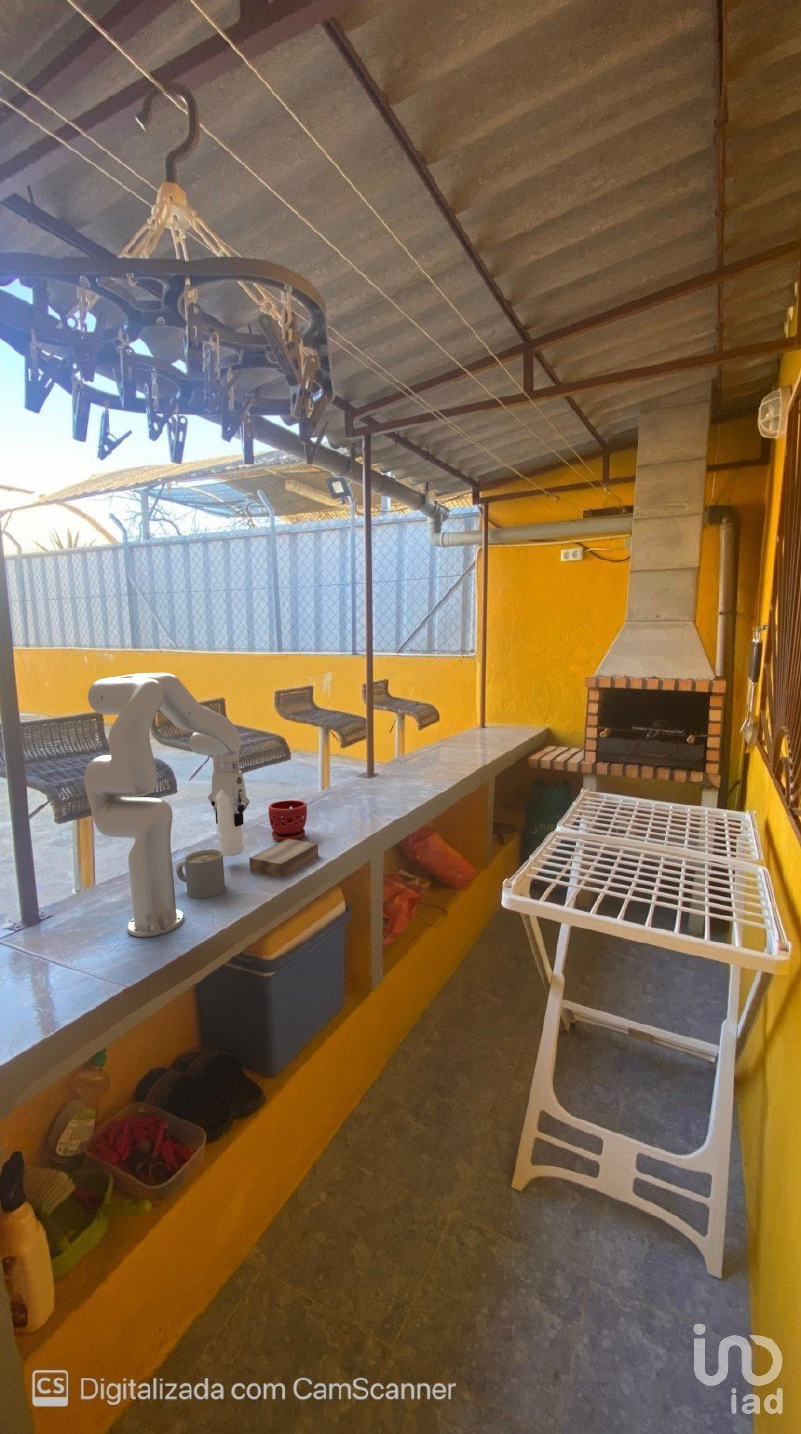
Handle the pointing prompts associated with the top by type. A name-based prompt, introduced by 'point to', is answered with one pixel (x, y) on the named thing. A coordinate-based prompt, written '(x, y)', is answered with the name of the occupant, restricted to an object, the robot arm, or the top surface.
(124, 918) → the top surface
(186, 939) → the top surface
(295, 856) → the walnut stand
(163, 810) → the robot arm
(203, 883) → the coffee mug
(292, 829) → the plant pot
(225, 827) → the water bottle
